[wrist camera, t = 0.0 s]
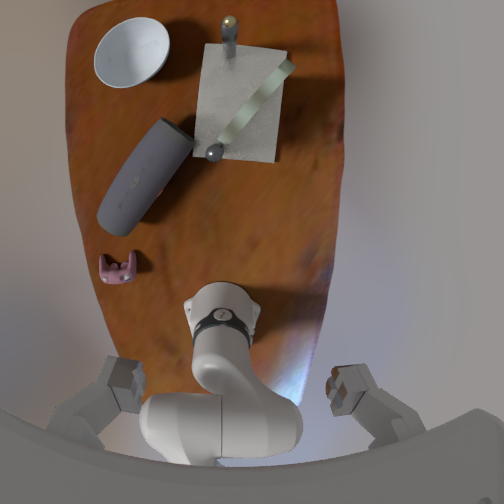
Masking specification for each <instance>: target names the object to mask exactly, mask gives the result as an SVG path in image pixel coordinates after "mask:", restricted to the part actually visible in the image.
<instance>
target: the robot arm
mask: <svg viewBox="0 0 504 504" xmlns="http://www.w3.org/2000/svg"><path fill="white" fill-rule="evenodd" d="M184 309H185V312H186V316H187V319H188V323H189V326H190V330H191V333H192V337H193V347H194V352H193V361H192V372H193V375H194V377H195V378H196V380H197V381H198V382H199V384H200V385H201V386H202V387H203V388H205V389H206V390H208V391H210V392H212V393H214V394H216V395H212V394H197V393H185V392H175V393H161V394H153V395H152V396H151V397H150V398H148V399H147V401H146V402H145V403H144V405H143V407H142V409H141V406H142V399H141V396H142V395H144V393H145V388H146V377H145V374H144V373H143V372H142V369H143V365H142V362H141V361H135V360H130V359H124V358H119V357H113V356H107V357H106V359H105V361H104V363H103V365H102V368H101V370H100V373H99V375H98V377H97V380H96V382H95V383H91V384H90V385H88V386H86V387H85V388H83V389H82V390H80V391H79V392H77V393H76V394H75V395H73V396H72V397H70V398H69V399H67V400H66V401H64V402H63V403H61V404H60V405H58V406H57V407H55V410H54V412H53V415H52V417H51V419H50V422H49V424H48V426H47V429H46V430H45V429H43V428H40V427H38V426H36V425H34V424H31V423H29V422H27V421H25V420H23V419H21V418H19V417H17V416H15V415H13V414H11V413H9V412H7V411H5V410H4V409H2V408H0V504H504V423H503V422H502V421H501V420H500V419H499V418H498V417H496V416H494V415H492V414H490V413H488V412H486V411H484V410H481V409H473V410H471V411H469V412H467V413H465V414H464V415H461V416H459V417H457V418H455V419H453V420H451V421H449V422H447V423H445V424H442V425H440V426H438V427H435V428H433V429H430V430H428V431H427V430H426V429H425V427H424V425H423V423H422V421H421V419H420V417H419V415H418V413H417V412H416V411H415V410H413V409H412V408H410V407H409V406H407V405H406V404H404V403H403V402H401V401H399V400H398V399H396V398H395V397H393V396H392V395H390V394H389V393H387V392H386V391H384V390H383V389H381V388H380V389H378V387H377V385H376V383H375V381H374V379H373V377H372V375H371V373H370V371H369V369H368V367H367V365H366V364H355V365H345V366H335V367H334V368H332V371H331V374H332V376H331V377H329V378H328V380H327V383H326V395H327V398H329V399H330V400H331V401H332V402H331V404H330V407H331V410H332V413H333V415H334V417H335V416H342V415H350V414H351V416H352V417H353V418H354V419H355V420H356V421H357V422H358V423H359V424H360V425H361V426H363V427H364V428H365V429H366V430H367V431H368V432H369V433H370V434H371V435H372V436H373V437H375V438H376V439H375V440H374V441H373V442H372V443H371V444H370V445H369V447H368V448H369V450H367V451H363V452H359V453H355V454H351V455H346V456H341V457H336V458H331V459H326V460H319V461H313V462H305V463H297V464H287V465H276V466H259V467H225V466H223V465H221V464H220V463H219V462H218V461H217V460H216V459H220V458H221V457H222V458H265V457H269V456H274V455H278V454H282V453H285V452H289V451H291V450H292V449H294V447H295V446H296V445H297V444H298V442H299V440H300V438H301V436H302V432H303V420H302V416H301V413H300V411H299V409H298V408H297V406H296V405H295V404H294V403H293V402H292V401H291V400H289V399H287V398H285V397H282V396H280V395H278V394H277V393H275V392H273V391H272V390H270V389H269V388H268V387H267V386H266V385H264V384H263V383H262V382H261V380H260V379H259V378H258V377H257V376H256V374H255V372H254V370H253V368H252V364H251V360H250V354H249V349H250V345H252V342H253V337H252V336H251V335H254V333H255V330H253V329H254V328H255V324H256V321H257V319H258V316H259V314H260V311H261V307H260V306H259V305H258V304H257V303H256V302H254V301H252V300H251V298H250V297H249V295H248V294H247V293H246V292H245V291H244V290H243V289H242V288H241V287H239V286H237V285H235V284H232V283H227V282H216V283H212V284H209V285H206V286H205V287H203V288H202V289H200V290H199V291H198V293H197V294H196V295H195V296H194V297H192V298H190V299H188V300H187V301H185V302H184ZM189 309H190V310H189ZM254 312H255V313H254ZM140 410H141V412H140ZM121 411H123V412H129V413H135V414H140V417H139V424H140V429H141V432H142V435H143V436H144V438H145V440H146V441H147V443H148V444H149V445H150V446H151V447H153V448H154V449H155V450H157V451H158V452H159V453H161V454H162V455H163V456H164V457H165V458H166V459H167V460H168V461H169V462H170V463H168V462H161V461H154V460H149V459H143V458H138V457H133V456H128V455H123V454H119V453H115V452H111V451H107V450H104V448H105V446H104V445H103V443H102V442H101V441H100V439H99V438H98V436H97V435H98V434H99V433H100V432H101V431H102V430H103V429H104V428H105V427H106V426H107V425H109V424H110V423H111V422H112V421H113V420H114V419H115V418H116V417H117V416H118V415H119V414H120V413H121Z"/></svg>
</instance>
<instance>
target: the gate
mask: <svg viewBox="0 0 504 504" xmlns="http://www.w3.org/2000/svg"><path fill="white" fill-rule="evenodd" d="M296 67H297V66H295V65H294V64H293V63H291V62H290V61H289V60H287V59H285V60H284V61H283V62H282V63H281V64H280V65H279V66H278V67H277V68H276V69H275V70H274V72H273V73H272V74H271V75H270V76H269V77H268V78H267V79H266V80H265V81H264V83H263V84H262V85H261V86H260V87H259V88H258V89H257V90H256V92H255V93H254V94H253V95H252V96H251V97H250V99H249V100H248V101H247V102H246V103H245V104H244V106H243V107H242V108H241V109H240V110H239V112H238V113H237V114H236V115H235V117H234V118H233V119H232V120H231V121H230V123H229V124H228V125H227V126H226V128H225V129H224V130H223V132H222V133H221V134H220V135H219V137H218V138H217V139H218V140H219V141H221V142H222V143H223V144H225V145H226V146H229V145H230V144H231V142H232V141H233V140H234V139H235V137H236V136H237V135H238V134H239V132H240V131H241V130H242V129H243V127H244V126H245V125H246V124H247V123H248V121H249V120H250V119H251V118H252V117H253V115H254V114H255V113H256V112H257V111H258V109H259V108H260V107H261V106H262V105H263V104H264V102H265V101H266V100H267V99H268V98H269V97H270V95H271V94H272V93H273V92H274V91H275V90H276V89H277V88H278V86H279V85H280V84H281V83H282V82H283V81H284V80H285V79H286V78H287V76H288V75H289V74H290V73H291V72H292V71H293V70H294V69H295V68H296Z"/></svg>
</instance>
